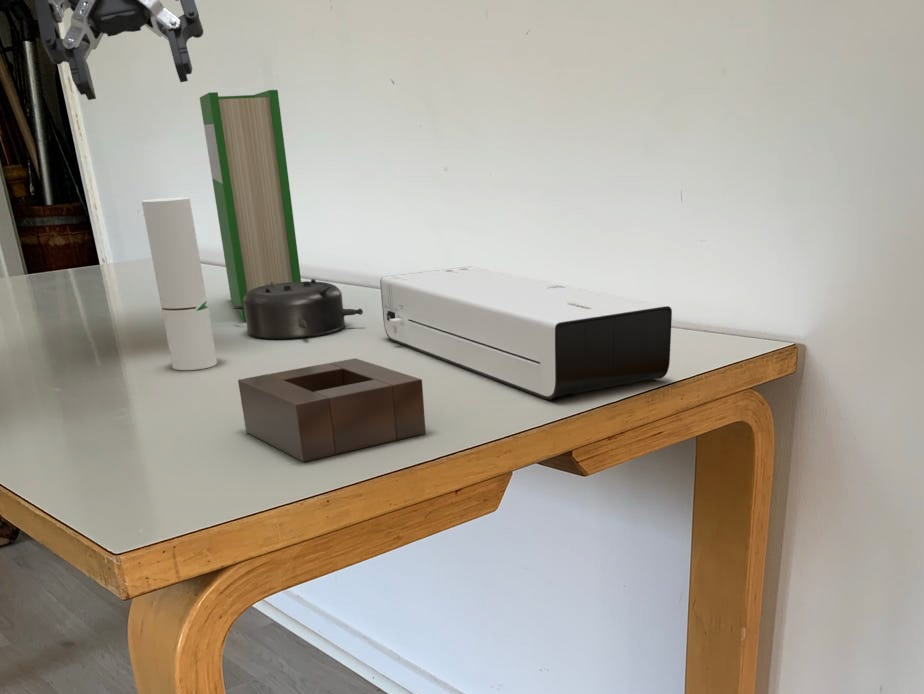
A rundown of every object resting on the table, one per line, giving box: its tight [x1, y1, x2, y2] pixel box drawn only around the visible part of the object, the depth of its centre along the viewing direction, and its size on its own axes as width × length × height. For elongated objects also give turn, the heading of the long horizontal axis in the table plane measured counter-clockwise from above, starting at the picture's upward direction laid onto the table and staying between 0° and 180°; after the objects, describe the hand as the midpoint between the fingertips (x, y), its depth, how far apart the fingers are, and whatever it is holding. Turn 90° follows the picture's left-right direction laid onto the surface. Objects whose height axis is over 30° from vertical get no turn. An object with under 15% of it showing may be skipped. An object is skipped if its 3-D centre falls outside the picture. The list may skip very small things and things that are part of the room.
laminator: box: [379, 265, 673, 400], centre depth 92 cm, size 34×12×6 cm, turn 29°
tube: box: [141, 197, 218, 371], centre depth 94 cm, size 4×4×15 cm
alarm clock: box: [232, 278, 364, 340], centre depth 112 cm, size 11×5×16 cm
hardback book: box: [199, 89, 302, 323], centre depth 121 cm, size 18×7×24 cm, turn 17°
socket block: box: [237, 358, 427, 463], centre depth 73 cm, size 10×10×4 cm
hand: (136, 84), depth 90 cm, fingers open, 8 cm apart
